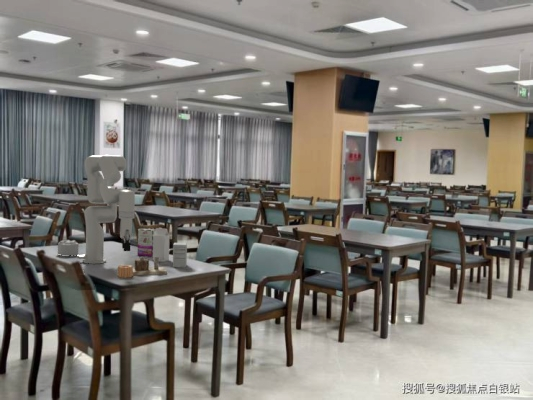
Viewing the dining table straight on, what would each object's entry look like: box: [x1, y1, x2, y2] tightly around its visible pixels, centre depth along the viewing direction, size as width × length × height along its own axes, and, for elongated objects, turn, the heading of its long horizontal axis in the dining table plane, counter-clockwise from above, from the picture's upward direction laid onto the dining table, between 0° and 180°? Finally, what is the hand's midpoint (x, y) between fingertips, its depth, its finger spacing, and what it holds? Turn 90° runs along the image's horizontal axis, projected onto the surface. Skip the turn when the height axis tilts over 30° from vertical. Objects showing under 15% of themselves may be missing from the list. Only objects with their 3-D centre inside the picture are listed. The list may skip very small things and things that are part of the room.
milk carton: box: [152, 227, 170, 263], centre depth 310 cm, size 7×7×19 cm
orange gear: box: [117, 264, 134, 278], centre depth 265 cm, size 7×7×5 cm
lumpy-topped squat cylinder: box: [57, 239, 79, 255], centre depth 319 cm, size 10×13×9 cm
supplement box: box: [172, 242, 188, 268], centre depth 296 cm, size 7×7×13 cm
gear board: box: [133, 256, 168, 276], centre depth 276 cm, size 17×11×8 cm, turn 109°
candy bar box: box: [137, 228, 156, 258], centre depth 326 cm, size 11×5×16 cm, turn 68°
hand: (126, 249), depth 264 cm, fingers open, 9 cm apart
